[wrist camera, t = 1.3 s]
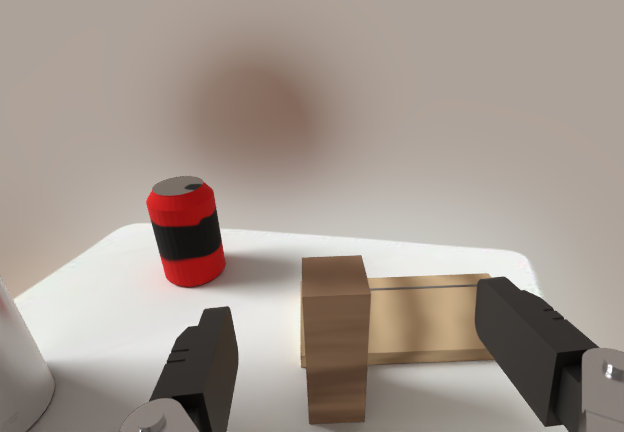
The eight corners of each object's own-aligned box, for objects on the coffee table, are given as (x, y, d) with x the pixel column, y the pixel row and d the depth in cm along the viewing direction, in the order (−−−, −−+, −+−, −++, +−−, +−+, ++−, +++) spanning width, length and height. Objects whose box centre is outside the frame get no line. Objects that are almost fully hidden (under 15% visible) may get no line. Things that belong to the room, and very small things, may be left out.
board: (301, 367, 35) (300, 355, 34) (301, 290, 44) (300, 280, 44) (537, 357, 35) (541, 345, 34) (485, 283, 45) (488, 273, 44)
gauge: (364, 421, 30) (371, 294, 24) (309, 423, 30) (302, 296, 24) (344, 295, 44) (345, 193, 37) (307, 297, 44) (301, 195, 37)
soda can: (208, 292, 45) (190, 201, 39) (153, 284, 47) (128, 196, 41) (235, 257, 51) (222, 175, 46) (185, 251, 53) (167, 171, 47)
